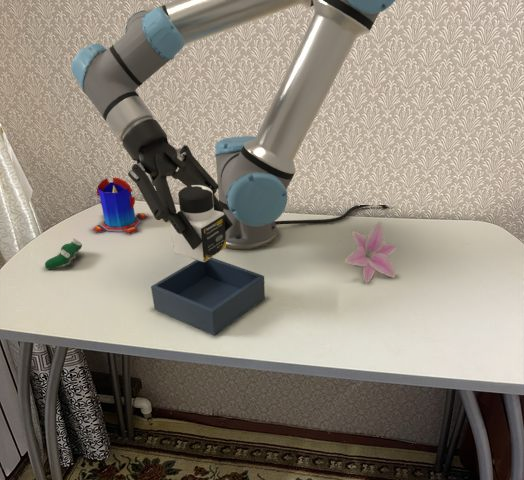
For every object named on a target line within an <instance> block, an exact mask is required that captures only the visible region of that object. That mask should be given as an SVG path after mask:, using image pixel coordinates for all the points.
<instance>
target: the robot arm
mask: <svg viewBox="0 0 524 480" xmlns="http://www.w3.org/2000/svg"><path fill="white" fill-rule="evenodd" d="M396 1H397V0H173V1H170V2H167V3H164V5H160V6H157V7H154V8H150V9H148V10H144V9H141V10H139V11H136V12H134V13H133V14H132V15H131V16H130V17H129V18H128V20H127V22H126V25H125V32H124V35H122V36H121V37H120V38H119V39H118V40H117V41H116V42H115V43H114V44H113V45H111V46H110V47H108V48H107V47H105V46H104V45H103V44H101V43H91V44H89V45H88V46H87V47H85V48H84V47H83V48H82V49H80V50H79V51H78V52H77V53H76V55H75V56H74V57H73V60H72V61H71V73H72V75H73V76H74V78H75V79H76V82H77V83H78V84H79V86H80V87H81V90H82V92H83V93H84V94H85V95H86V96H87V98H88V99H89V101H90V102H91V104H92V105H93V106H94V107H95V109H96V110H97V111H98V113H99V114H100V116H101V117H102V118H103V120H104V121H105V122H106V124H107V125H108V127H109V128H110V130H111V131H112V133H113V134H114V135H115V137H116V138H117V139H118V141H119V142H122V147H123V148H124V149H125V151H126V152H127V154H128V155H129V156H130V158H131V160H133V161H134V162H136V163H134V164H133V165H132V166H131V167H130V169H129V171H128V172H127V176H128V177H129V178H130V180H131V181H133V183H135V184H136V186H137V187H138V190H139V191H140V194H141V196H142V198H143V199H144V201H145V203H146V204H147V206H148V208H149V210H150V212H151V213H152V215H153V217H154V219H155V220H156V221H161V220H162V221H163V222H164V223H168V222H169V223H170V225H171V224H172V226H173V227H174V228H175V229H176V231H177V233H179V234H182V235H183V236H184V238H185V239H186V241H187V242H188V243H189V245H190V246H191V248H192V249H193V250H194V249H196V248H197V247H198V246H199V245H200V244H201V243H202V242H203V240H202V239H201V238H200V236H199V235H198V233H197V232H196V231H195V229H194V228H193V226H192V225H191V224H190V222H189V221H188V219H187V218H186V217H185V215H184V214H183V212H182V211H180V210H179V211H177V208H176V205H175V201H174V198H173V196H172V192H171V189H170V186H169V182H168V180H167V179H168V177H172V178H173V179H174V180H178V181H179V182H181V183H182V184H183V185H185V187H188V186H192V185H202V186H206V187H208V188H210V189H211V190H212V192H213V205H214V210H216V211H219V212H223V213H224V216H225V232H226V248H227V249H231V250H237V251H248V250H255V249H260V248H263V247H266V246H268V245H270V244H273V242H274V241H276V239H277V237H278V228H277V225H302V224H306V225H307V224H328V223H334V222H338V221H339V222H340V221H341V220H344V219H346V218H347V217H348V216H349V215H350V214H351V213H352V212H353V211H355V210H358V209H361V208H366V207H370V206H372V205H360V204H357V205H353V206H351V207H350V208H348V210H347V211H345V213H343V214H342V215H340V216H337V217H332V218H325V219H324V218H323V219H297V220H295V219H294V220H291V219H289V220H278V219H279V218H280V217H281V216H282V215H283V213H284V211H285V210H286V207H287V204H288V191H287V190H288V187H289V186H290V183H291V182H292V180H293V178H294V176H295V174H296V173H297V172H296V171H297V169H296V166H295V162H294V159H295V158H296V156H297V154H298V152H299V150H300V148H301V146H302V144H303V142H304V140H305V138H306V136H307V134H308V133H309V130H310V128H311V127H312V125H313V123H314V121H315V119H316V117H317V115H318V113H319V111H320V110H321V108H322V106H323V104H324V101H325V100H326V98H327V97H328V96H327V95H328V94H329V92H330V90H331V88H332V86H333V84H334V82H335V80H336V79H337V77H338V74H339V73H340V70H341V69H342V67H343V65H344V63H345V61H346V59H347V57H348V56H349V53H350V51H351V50H352V48H353V46H354V43H355V42H356V41H357V39H358V38H359V37H361V36H364V35H366V34H369V33H370V32H371V29H372V27H373V26H374V24H375V22H376V21H377V19H378V16H379V15H380V13H382V12H384V11H386V10H387V9H389V8H390V7H391V6H392V5H393V4H394V3H395V2H396ZM299 5H301V6H302V7H305V8H306V9H308V8H312V7H313V9H314V14H313V16H312V18H311V20H310V22H309V25H308V27H307V29H306V31H305V33H304V35H303V37H302V39H301V41H300V44H299V45H298V48H297V50H296V52H295V54H294V56H293V57H292V59H291V62H290V64H289V66H288V68H287V71H286V73H285V75H284V77H283V79H282V81H281V84H280V85H279V88H278V90H277V91H276V94H275V96H274V98H273V100H272V102H271V104H270V107H269V109H268V110H267V113H266V114H265V117H264V119H263V122H262V123H261V124H260V125H261V126H260V127H259V129H258V132H257V134H256V136H253V135H243V136H232V137H225V138H222V139H219V140H218V141H217V142H216V143H215V146H214V150H215V153H214V157H215V164H216V165H215V166H216V179H217V182H216V180H215V179H213V177H212V176H211V175H210V174H209V173H208V171H207V170H206V169H205V168H204V166H202V164H200V162H199V161H198V160H197V159H196V158H195V156H194V155H193V153H192V151H191V149H190V147H189V146H188V145H187V144H184V145H182V147H181V148H176V147H174V146H173V145H171V144H170V143H169V140H168V134H167V133H166V132H165V130H164V129H163V127H162V126H161V124H160V123H159V121H158V120H157V119H154V118H155V117H154V115H153V113H152V111H150V108H148V106H147V104H146V103H145V102H144V101H143V99H142V98H141V96H140V95H139V94H138V92H137V89H138V88H139V87H141V86H142V85H143V84H144V83H145V82H146V81H147V80H149V78H150V77H152V76H153V75H154V74H156V73H157V72H158V71H159V70H161V68H162V67H164V66H165V65H166V64H168V63H169V62H170V61H172V60H174V59H175V57H176V56H177V55H178V54H179V53H180V51H181V50H182V49H184V48H185V46H188V45H190V44H193V43H196V42H198V41H201V40H205V39H207V38H209V37H212V36H215V35H218V34H221V33H224V32H227V31H229V30H232V29H235V28H238V27H240V26H244V25H246V24H249V23H251V22H254V21H257V20H260V19H263V18H266V17H269V16H272V15H274V14H277V13H280V12H282V11H285V10H288V9H291V8H293V7H296V6H299ZM216 193H218V198H217V196H216V195H215V194H216ZM358 205H360V206H358ZM378 206H379V207H381V208H383V209H389V206H387V205H386V204H385V205H378Z"/></svg>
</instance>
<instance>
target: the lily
mask: <svg viewBox="0 0 524 480" xmlns="http://www.w3.org/2000/svg"><path fill="white" fill-rule="evenodd" d="M351 234H352V237H353V240H354V243H355V245H356V247H357V248H356V249H354V250H353V251H352V252H351V253H350V254H349V255H348V256H347V257H346V258H345V259H344V262H345V263H346V264H349V265H353V266H358V267H362V272H363V279H364V283H365V284H367V283H369V281H370V280H371V279H372V277H373V276H374V274H375V272H376V271H377V272H379V273H380V274H383V275H385V276H387V277H389V278H393V279H394V278H395V277H396V273H395V269H394V267H393V264H392V262H391V260H390V258H389V256H391V255H392V254H393V253H394V252H395V251H396V250H397V248H398V246H397V245H395V244H391V243H388V242H387V243H386V242H385V231H384V228H383V223H382V222H381V221H380V220H379V221H377V222H376V223H375V225H374V227H373V228H372V230H371V231H370V232H369V234H368V235H367V236H365V235H363V234H362V233H360V232H357V231H351Z"/></svg>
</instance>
